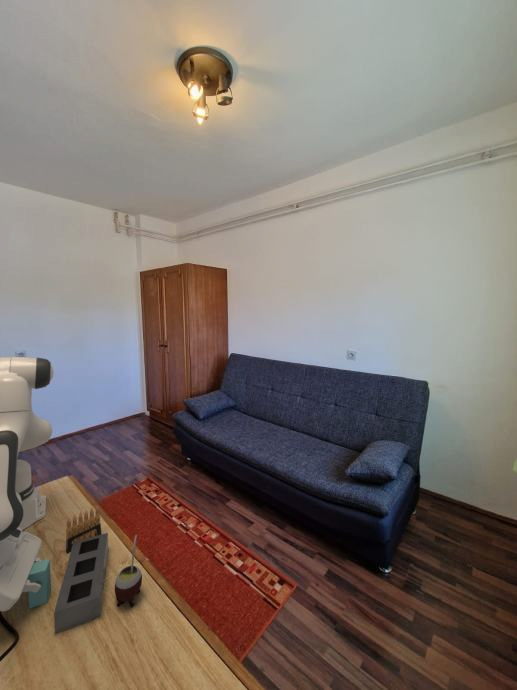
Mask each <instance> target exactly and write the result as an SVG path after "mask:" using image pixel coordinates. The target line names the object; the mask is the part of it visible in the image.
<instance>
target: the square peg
mask: <svg viewBox="0 0 517 690" xmlns="http://www.w3.org/2000/svg"><path fill="white" fill-rule="evenodd" d="M27 580H30V583H35V582H36V581H37V580H38V581H40V582H42V585H41V588H40V589H39V590H38V591H37V592H36V593H34V592H32V591H27V593H28V604H29V605H28V606H29V607H28V609H33V608H36V607H39V606H42V605H45V604H48V602H49V599H50V595H51V592H52V578H51V560H50V558H46V559H44V560H41V561H39V562H36V563H34V564H33V566H32V569H31V571H30V573H29V576H28V578H27Z"/></svg>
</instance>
